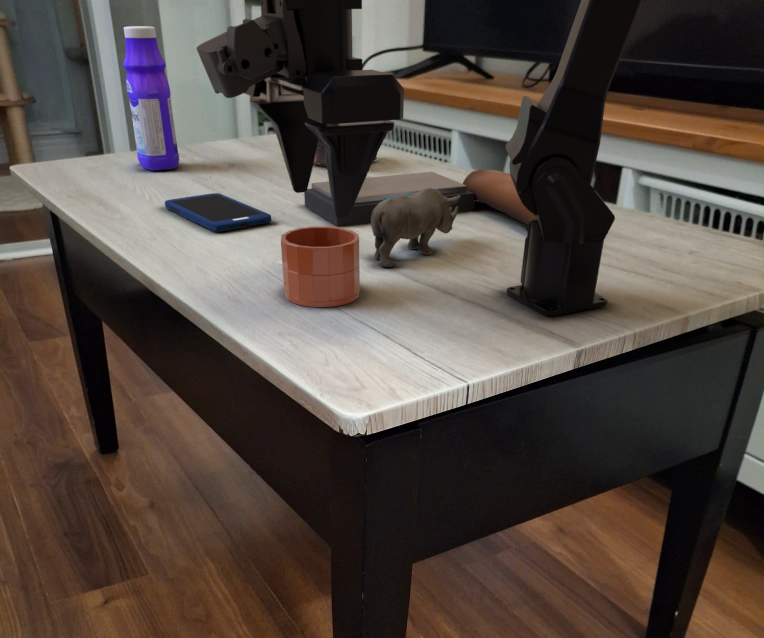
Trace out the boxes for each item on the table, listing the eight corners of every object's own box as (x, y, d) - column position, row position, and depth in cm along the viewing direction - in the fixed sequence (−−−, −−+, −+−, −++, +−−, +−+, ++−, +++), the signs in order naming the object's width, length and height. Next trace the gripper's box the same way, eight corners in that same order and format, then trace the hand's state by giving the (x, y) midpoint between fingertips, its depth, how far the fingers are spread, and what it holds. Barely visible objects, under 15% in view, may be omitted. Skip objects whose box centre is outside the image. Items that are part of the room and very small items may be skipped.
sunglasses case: (601, 227, 85) (584, 174, 80) (551, 265, 85) (531, 215, 80) (517, 192, 98) (498, 145, 94) (473, 225, 98) (452, 180, 94)
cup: (371, 300, 67) (371, 242, 64) (300, 312, 64) (297, 251, 61) (341, 278, 71) (340, 223, 69) (274, 288, 69) (270, 231, 66)
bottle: (135, 164, 113) (112, 25, 103) (173, 161, 115) (155, 24, 105) (144, 173, 108) (121, 28, 98) (184, 170, 110) (166, 27, 100)
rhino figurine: (473, 241, 82) (478, 181, 78) (390, 270, 73) (391, 205, 70) (442, 233, 84) (446, 175, 81) (359, 262, 76) (358, 198, 72)
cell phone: (215, 232, 83) (215, 225, 83) (162, 206, 92) (161, 200, 92) (274, 222, 87) (273, 215, 86) (217, 198, 96) (217, 192, 95)
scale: (473, 210, 93) (475, 185, 91) (336, 226, 86) (336, 200, 84) (433, 192, 100) (434, 169, 98) (304, 206, 93) (303, 182, 92)
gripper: (168, -27, 58) (195, 189, 67) (241, -27, 45) (263, 245, 54) (304, -26, 62) (313, 178, 71) (410, -25, 49) (404, 227, 58)
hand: (320, 203), depth 63 cm, fingers open, 9 cm apart
